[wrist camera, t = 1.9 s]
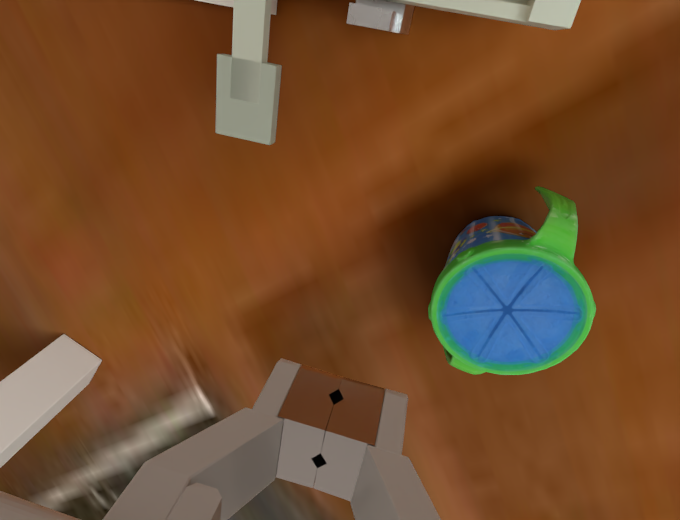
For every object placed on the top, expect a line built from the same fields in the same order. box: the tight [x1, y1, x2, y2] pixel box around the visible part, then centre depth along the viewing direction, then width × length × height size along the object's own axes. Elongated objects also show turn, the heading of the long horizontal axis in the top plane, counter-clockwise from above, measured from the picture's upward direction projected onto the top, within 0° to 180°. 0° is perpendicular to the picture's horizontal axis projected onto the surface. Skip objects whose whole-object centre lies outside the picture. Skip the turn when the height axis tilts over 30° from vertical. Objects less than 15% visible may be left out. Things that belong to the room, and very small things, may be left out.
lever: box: [216, 0, 581, 145], centre depth 24 cm, size 20×16×4 cm
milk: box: [0, 334, 102, 468], centre depth 48 cm, size 6×6×22 cm
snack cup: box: [428, 186, 596, 375], centre depth 34 cm, size 16×10×10 cm
